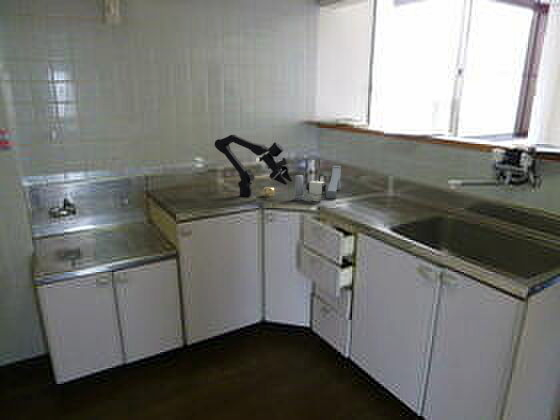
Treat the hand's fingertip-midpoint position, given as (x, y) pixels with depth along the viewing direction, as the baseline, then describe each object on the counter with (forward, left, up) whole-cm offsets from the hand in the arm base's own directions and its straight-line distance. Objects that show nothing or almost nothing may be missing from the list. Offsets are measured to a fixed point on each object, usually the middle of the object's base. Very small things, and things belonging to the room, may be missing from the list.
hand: (289, 182), depth 221 cm
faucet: (+24, +21, -10) cm, 34 cm away
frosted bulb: (+6, 0, -9) cm, 11 cm away
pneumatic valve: (+17, 0, -10) cm, 19 cm away
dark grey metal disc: (+6, 0, -10) cm, 11 cm away
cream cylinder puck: (-13, +6, -10) cm, 17 cm away
